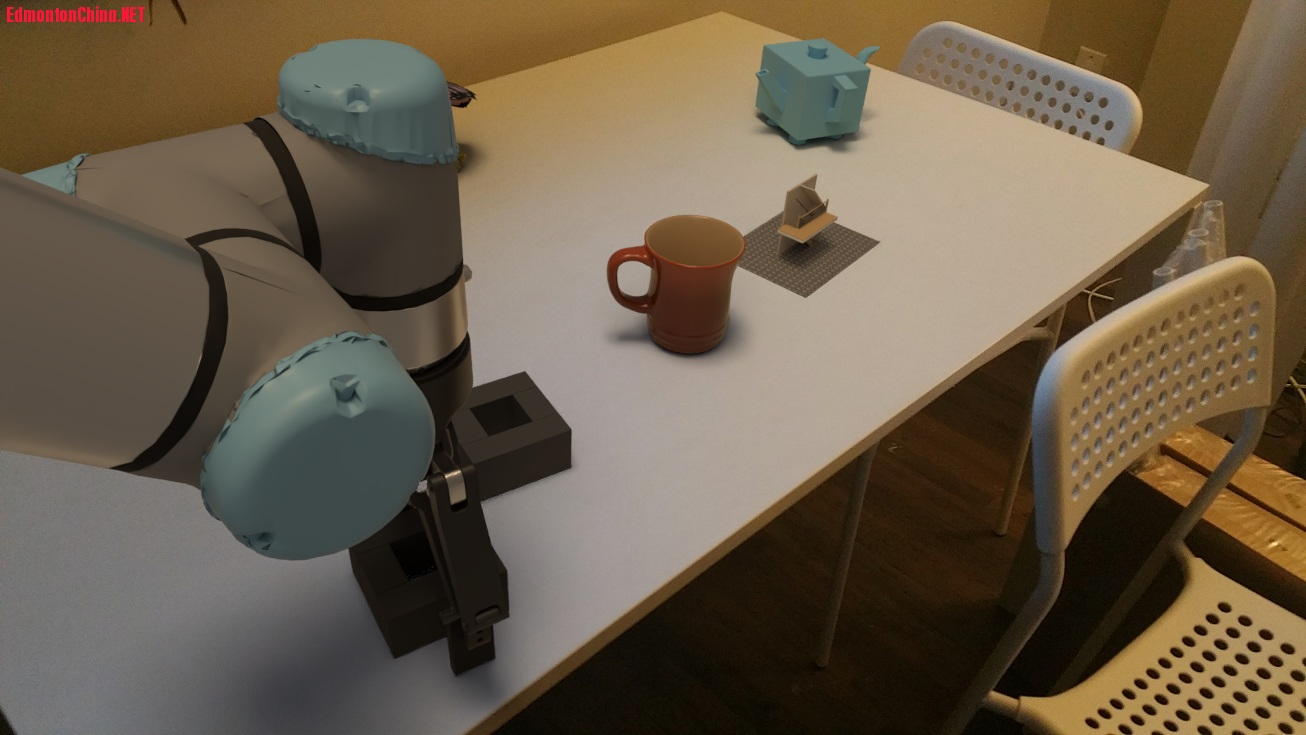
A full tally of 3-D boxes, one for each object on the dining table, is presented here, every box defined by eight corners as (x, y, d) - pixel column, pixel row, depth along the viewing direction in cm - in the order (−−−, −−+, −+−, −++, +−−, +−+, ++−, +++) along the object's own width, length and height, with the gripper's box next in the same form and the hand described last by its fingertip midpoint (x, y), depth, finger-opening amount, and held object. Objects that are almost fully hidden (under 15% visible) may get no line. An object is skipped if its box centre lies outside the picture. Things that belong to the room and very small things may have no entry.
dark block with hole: (394, 659, 62) (387, 619, 60) (352, 572, 67) (344, 532, 65) (509, 609, 66) (507, 570, 63) (461, 530, 71) (458, 491, 68)
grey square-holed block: (476, 503, 73) (473, 464, 71) (434, 438, 78) (431, 400, 76) (571, 467, 77) (572, 429, 74) (526, 408, 82) (525, 370, 79)
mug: (718, 305, 95) (730, 211, 89) (743, 360, 89) (758, 263, 82) (596, 313, 93) (599, 218, 87) (612, 371, 86) (617, 272, 80)
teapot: (720, 113, 131) (729, 28, 124) (833, 97, 137) (848, 16, 130) (781, 165, 120) (795, 75, 113) (901, 145, 126) (921, 59, 119)
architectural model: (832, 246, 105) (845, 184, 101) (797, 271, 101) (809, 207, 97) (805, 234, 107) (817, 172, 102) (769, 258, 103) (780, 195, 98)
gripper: (569, 453, 47) (568, 706, 60) (385, 216, 63) (416, 456, 76) (419, 509, 44) (453, 763, 57) (266, 244, 60) (320, 490, 73)
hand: (432, 588), depth 67 cm, fingers open, 13 cm apart
